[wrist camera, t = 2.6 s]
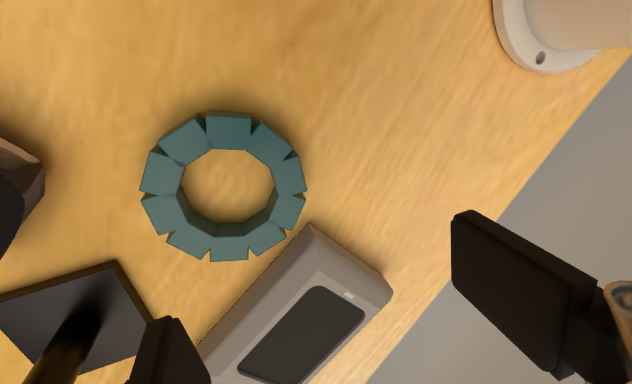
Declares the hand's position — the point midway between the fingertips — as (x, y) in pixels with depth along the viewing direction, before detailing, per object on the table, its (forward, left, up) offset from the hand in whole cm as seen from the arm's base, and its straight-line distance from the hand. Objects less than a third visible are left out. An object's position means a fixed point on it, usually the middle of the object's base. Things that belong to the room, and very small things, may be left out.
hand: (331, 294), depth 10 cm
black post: (+17, +7, -13) cm, 22 cm away
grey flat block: (+2, +13, -13) cm, 19 cm away
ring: (+4, 0, -13) cm, 14 cm away
